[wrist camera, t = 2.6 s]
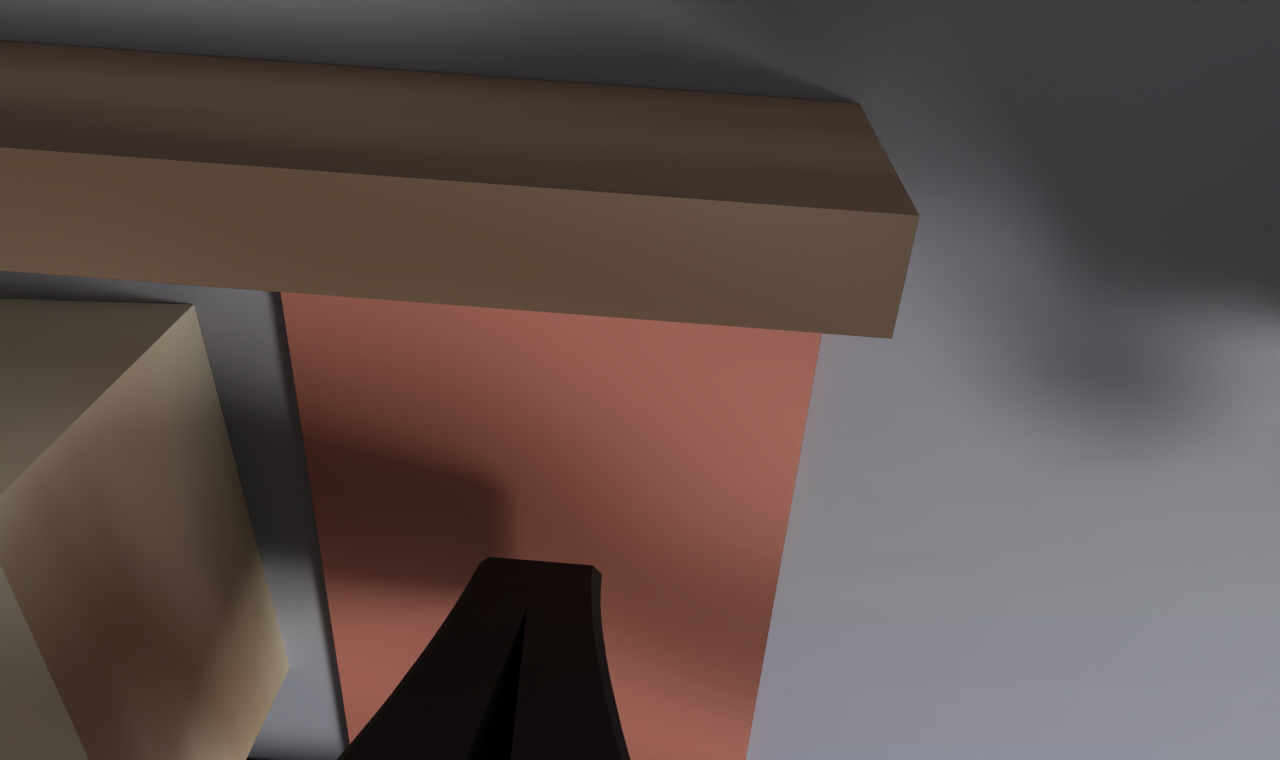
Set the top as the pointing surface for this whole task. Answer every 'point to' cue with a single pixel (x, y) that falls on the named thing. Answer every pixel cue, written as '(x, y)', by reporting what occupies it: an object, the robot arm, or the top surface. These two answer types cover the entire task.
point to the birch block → (124, 544)
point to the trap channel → (497, 324)
